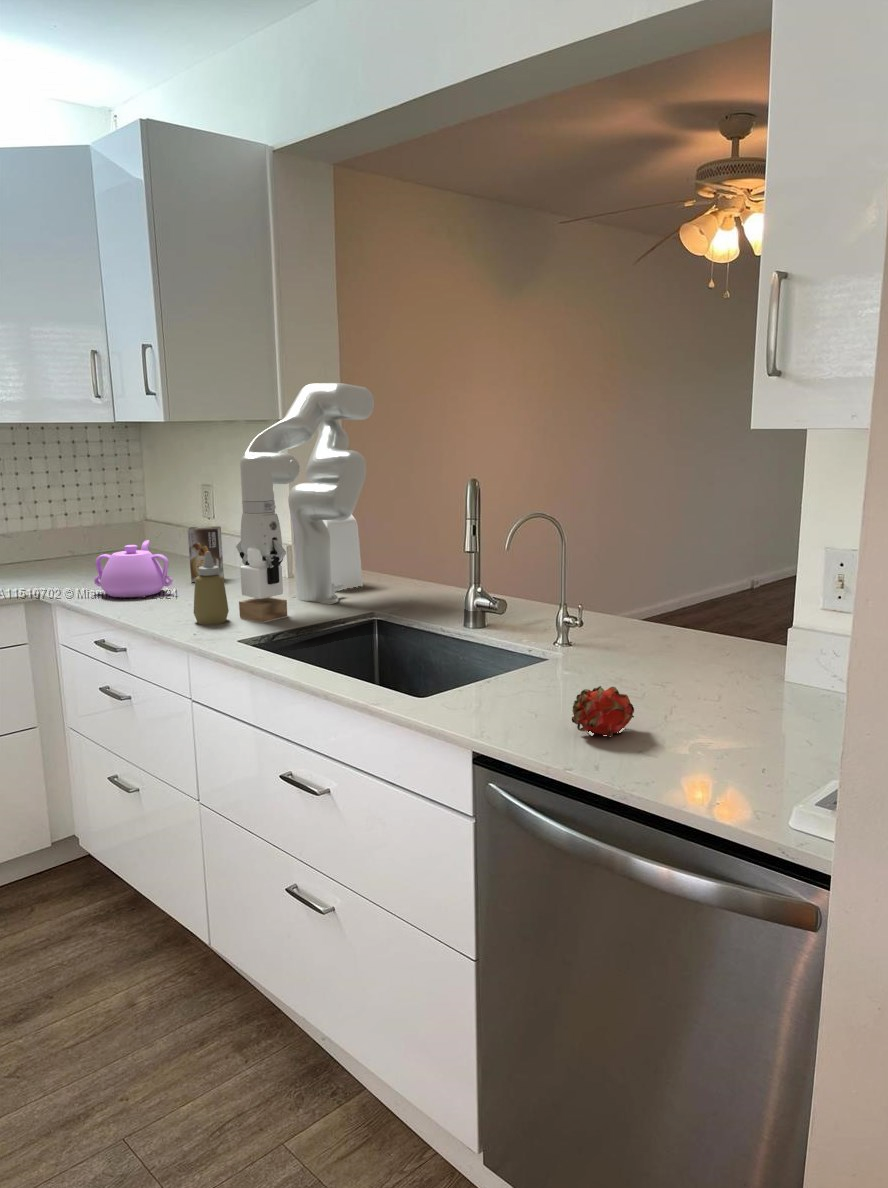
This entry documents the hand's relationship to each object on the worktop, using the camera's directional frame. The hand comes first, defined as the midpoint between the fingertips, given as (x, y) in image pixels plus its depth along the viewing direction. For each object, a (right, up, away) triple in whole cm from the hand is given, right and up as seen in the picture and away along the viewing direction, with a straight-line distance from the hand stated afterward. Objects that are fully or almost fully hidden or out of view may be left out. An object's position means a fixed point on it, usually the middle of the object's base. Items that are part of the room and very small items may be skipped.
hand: (262, 581), depth 218 cm
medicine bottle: (0, -3, +1) cm, 4 cm away
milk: (+12, -1, +45) cm, 47 cm away
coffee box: (-27, +1, +55) cm, 61 cm away
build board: (0, -10, +2) cm, 10 cm away
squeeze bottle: (-11, -11, -2) cm, 16 cm away
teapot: (-43, -3, +38) cm, 57 cm away
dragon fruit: (+69, -25, -73) cm, 104 cm away
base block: (0, -9, +2) cm, 9 cm away
